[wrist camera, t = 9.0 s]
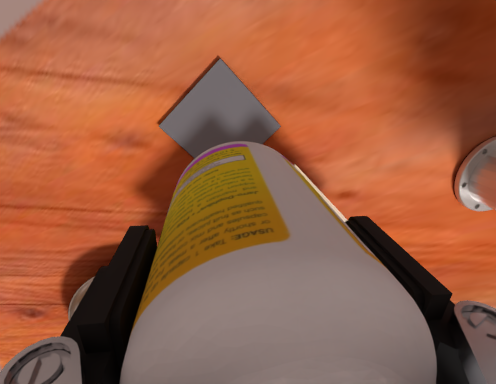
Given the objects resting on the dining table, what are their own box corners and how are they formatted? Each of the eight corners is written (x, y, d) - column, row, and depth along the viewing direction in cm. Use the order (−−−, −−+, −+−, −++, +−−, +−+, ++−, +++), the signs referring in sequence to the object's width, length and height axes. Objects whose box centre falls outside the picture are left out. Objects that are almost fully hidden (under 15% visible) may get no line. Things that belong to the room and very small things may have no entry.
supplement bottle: (159, 234, 14) (-62, 903, 3) (198, 117, 12) (-55, 891, 1) (270, 263, 16) (422, 755, 4) (322, 165, 14) (873, 617, 2)
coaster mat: (280, 125, 36) (280, 126, 35) (222, 181, 38) (222, 183, 37) (220, 58, 32) (220, 58, 31) (159, 125, 34) (158, 126, 33)
